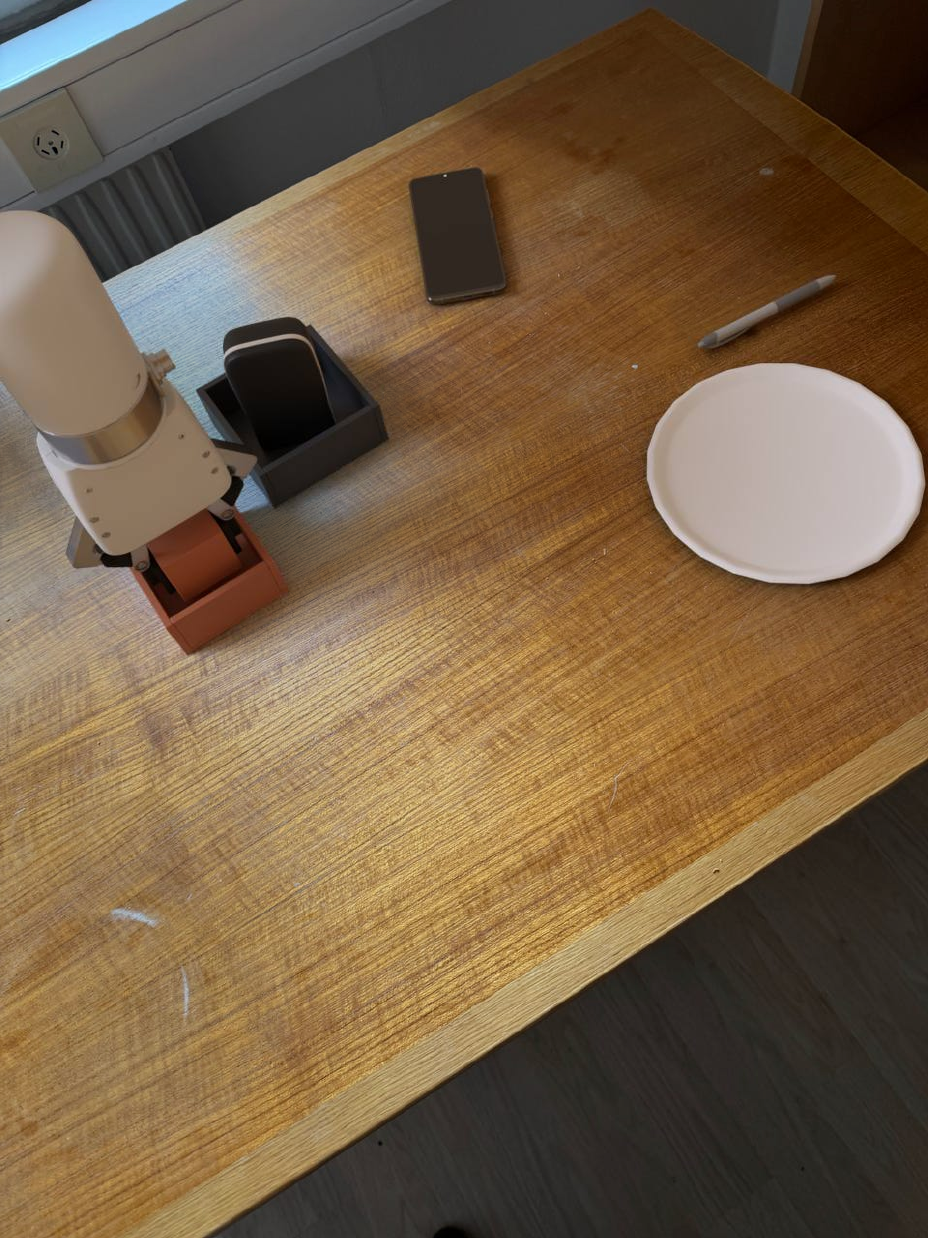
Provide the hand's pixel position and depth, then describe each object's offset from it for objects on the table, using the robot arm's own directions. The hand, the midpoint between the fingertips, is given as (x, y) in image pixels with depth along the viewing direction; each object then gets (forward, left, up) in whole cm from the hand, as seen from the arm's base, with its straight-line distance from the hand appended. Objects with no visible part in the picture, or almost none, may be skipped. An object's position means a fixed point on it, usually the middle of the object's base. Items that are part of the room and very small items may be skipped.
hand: (197, 559), depth 79 cm
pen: (+51, -7, -4) cm, 52 cm away
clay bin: (0, 0, -4) cm, 4 cm away
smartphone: (+36, +19, -4) cm, 41 cm away
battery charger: (+13, +9, -3) cm, 16 cm away
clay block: (0, 0, 0) cm, 0 cm away
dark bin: (+13, +9, -4) cm, 16 cm away
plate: (+41, -19, -4) cm, 46 cm away
